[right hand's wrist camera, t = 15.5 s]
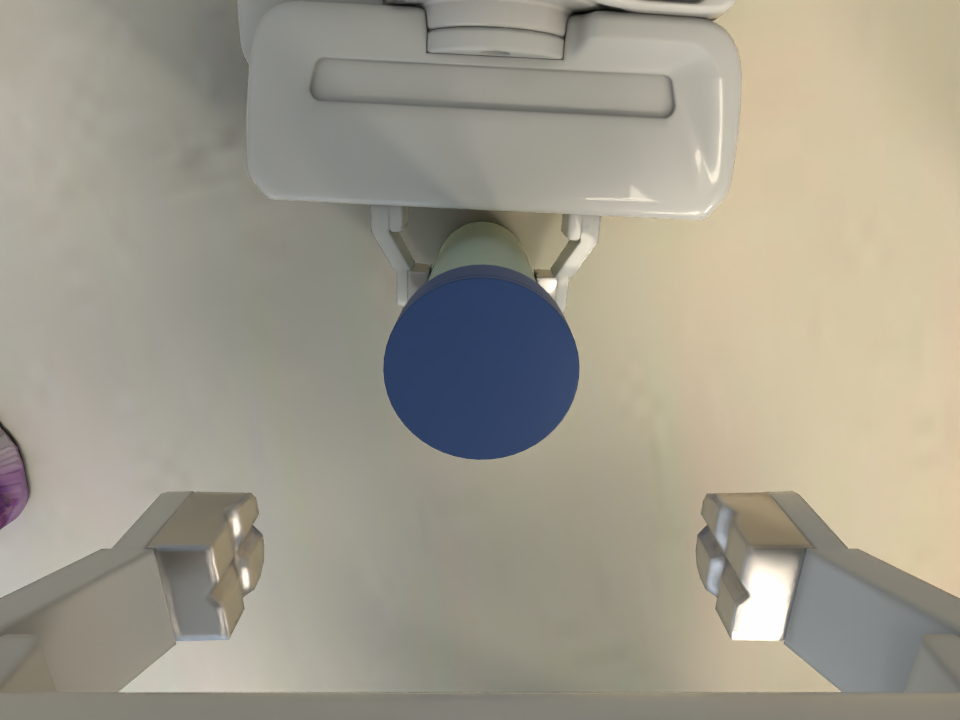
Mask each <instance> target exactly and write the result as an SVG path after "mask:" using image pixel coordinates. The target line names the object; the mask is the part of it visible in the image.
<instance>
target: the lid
mask: <svg viewBox="0 0 960 720" xmlns="http://www.w3.org/2000/svg"><path fill="white" fill-rule="evenodd" d="M383 371H384V381H385V386H386V390H387V394H388V397H389V399H390V402H391V404H392V406H393V408H394V410H395V412H396V414H397V415H398V417H399V418H400V419H401V421H402V422H403V423H404V425H405V426H406V427H407V428H408V429H409V430H410V431H411V432H412V433H413V434H414V435H415V436H417V437H418V438H419V439H420V440H422V441H423V442H425V443H426V444H428V445H429V446H431V447H433V448H435V449H437V450H439V451H441V452H444V453H447V454H450V455H453V456H457V457H461V458H466V459H477V460H481V459H496V458H502V457H506V456H510V455H514V454H516V453H519V452H522V451H524V450H526V449H528V448H530V447H532V446H534V445H535V444H537V443H538V442H540V441H541V440H543V439H544V438H545V437H546V436H548V435H549V434H550V433H551V432H552V431H553V430H554V429H555V428H556V427H557V426H558V424H559V423H560V422H561V421H562V420H563V418H564V416H565V415H566V413H567V412H568V410H569V408H570V406H571V404H572V402H573V400H574V396H575V393H576V390H577V386H578V380H579V358H578V351H577V347H576V343H575V340H574V338H573V335H572V333H571V331H570V328H569V326H568V324H567V322H566V320H565V318H564V315H563V313H562V311H561V310H560V308H559V306H558V305H557V303H556V302H555V300H554V299H553V298H552V297H551V295H550V294H549V293H548V292H547V291H546V290H545V289H544V288H543V287H542V286H541V285H539V284H538V283H537V282H535V281H534V280H532V279H531V278H529V277H527V276H525V275H524V274H522V273H520V272H517V271H514V270H512V269H509V268H505V267H501V266H496V265H486V264H481V265H468V266H462V267H458V268H455V269H451V270H448V271H446V272H444V273H441V274H439V275H437V276H436V277H434V278H432V279H431V280H429V281H428V282H426V283H425V284H424V285H423V286H421V287H420V288H419V289H418V290H417V291H416V292H415V293H414V294H413V295H412V297H411V298H410V299H409V300H408V302H407V303H406V305H405V306H404V308H403V310H402V312H401V314H400V316H399V318H398V320H397V322H396V324H395V326H394V328H393V330H392V332H391V334H390V337H389V340H388V343H387V346H386V351H385V356H384V370H383Z"/></svg>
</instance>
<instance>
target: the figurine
mask: <svg viewBox="0 0 960 720" xmlns="http://www.w3.org/2000/svg"><path fill="white" fill-rule="evenodd" d="M28 496H29V490H28V487H27V481H26V476H25V471H24V466H23V462H22V459H21V457H20V454H19V452H18V447H17V446H16V445H15V444H14V443H13V442H12V440H11V439H10V438H9V436H8V435H7V434H6V433H5V432H4V431H3V430H2V429H1V428H0V529H2V528H3V527H4V526H6V525H7V524H9V523H10V522H12V521H13V520H14V519H16V518H17V517H18V516H19V515H20V513H21V512H22V510H23V509H24V507H25V505H26V503H27V500H28Z"/></svg>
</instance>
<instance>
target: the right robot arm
mask: <svg viewBox="0 0 960 720" xmlns="http://www.w3.org/2000/svg"><path fill="white" fill-rule="evenodd" d="M258 515H259V511H258V506H257V501H256V497H255V496H254V495H253V494H252V493H235V492H193V491H188V492H166V493H162V494H161V495H160V496H159V497H158V498H157V499H156V500H155V501H154V502H153V504H152V505H151V506H150V507H149V508H148V509H147V510H146V511H145V512H144V513H143V515H142V516H141V517H140V518H139V519H138V520H137V521H136V522H135V523H134V524H133V526H132V527H131V528H130V529H129V530H128V531H127V532H126V533H125V534H124V535H123V537H122V538H121V539H120V540H119V541H118V542H117V543H116V544H115V545H114V546H113V548H112V549H101V550H99V551H97V552H95V553H92V554H90V555H88V556H86V557H84V558H82V559H80V560H78V561H76V562H74V563H72V564H70V565H68V566H66V567H64V568H62V569H60V570H57V571H55V572H53V573H51V574H49V575H47V576H45V577H43V578H41V579H39V580H37V581H35V582H33V583H31V584H29V585H27V586H25V587H23V588H20V589H18V590H16V591H14V592H12V593H10V594H8V595H6V596H4V597H2V598H0V720H960V598H958V597H956V596H954V595H952V594H950V593H947V592H945V591H943V590H941V589H939V588H937V587H935V586H933V585H931V584H929V583H927V582H925V581H923V580H921V579H919V578H917V577H915V576H913V575H911V574H909V573H906V572H904V571H902V570H900V569H898V568H896V567H894V566H892V565H890V564H888V563H886V562H884V561H882V560H880V559H878V558H876V557H874V556H872V555H870V554H868V553H865V552H863V551H861V550H859V549H848V548H847V546H846V545H845V544H844V543H843V542H842V541H841V540H840V539H839V538H838V537H837V535H836V534H835V533H834V532H833V531H832V530H831V529H830V528H829V527H828V526H827V524H826V523H825V522H824V521H823V520H822V519H821V518H820V517H819V516H818V515H817V513H816V512H815V511H814V510H813V509H812V508H811V507H810V506H809V505H808V504H807V502H806V501H805V500H804V499H803V498H802V497H801V496H800V495H799V494H797V493H795V492H793V491H782V492H763V493H717V494H706V496H705V498H704V501H703V505H702V510H701V515H702V516H703V518H704V520H705V522H706V523H707V526H706V527H705V528H704V529H703V530H702V531H701V532H700V533H699V534H698V535H697V544H696V561H697V568H698V572H699V575H700V578H701V580H702V583H703V585H704V587H705V589H706V590H708V591H709V592H711V593H712V594H713V595H715V596H716V597H717V603H716V611H717V613H718V615H719V617H720V619H721V621H722V622H723V624H724V626H725V628H726V630H727V632H728V634H729V636H730V638H731V640H757V641H784V644H785V645H786V646H787V647H788V648H790V649H791V650H792V651H793V652H794V653H796V654H797V655H798V656H799V657H800V658H802V659H803V660H804V661H805V662H806V663H808V664H809V665H810V666H811V667H813V668H814V669H815V670H816V671H817V672H819V673H820V674H821V675H822V676H823V677H825V678H826V679H827V680H828V681H829V682H831V683H832V684H833V685H834V686H835V687H837V688H838V689H839V690H840V691H841V692H792V693H417V692H279V693H120V692H119V691H120V690H121V689H122V688H124V687H125V686H126V685H127V684H128V683H130V682H131V681H132V680H133V679H134V678H136V677H137V676H138V675H139V674H140V673H142V672H143V671H144V670H145V669H146V668H148V667H149V666H150V665H151V664H153V663H154V662H155V661H156V660H157V659H159V658H160V657H161V656H162V655H163V654H165V653H166V652H167V651H168V650H169V649H171V648H172V647H173V646H174V645H175V644H176V641H202V640H229V638H230V636H231V634H232V632H233V630H234V628H235V626H236V624H237V623H238V621H239V619H240V617H241V615H242V613H243V611H244V603H243V597H244V596H245V595H247V594H248V593H249V592H251V591H252V590H254V589H255V587H256V585H257V582H258V580H259V578H260V576H261V571H262V567H263V562H264V542H263V535H262V534H261V533H260V532H259V531H258V530H257V529H256V528H255V527H254V526H253V523H254V522H255V520H256V518H257V516H258Z"/></svg>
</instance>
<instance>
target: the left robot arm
mask: <svg viewBox="0 0 960 720" xmlns="http://www.w3.org/2000/svg"><path fill="white" fill-rule="evenodd" d="M735 2H736V0H238V4H237V9H238V21H239V33H240V43H241V48H242V52H243V55H244V58H245V60H246V62H247V64H248V65H249V74H248V88H247V107H246V150H247V167H248V172H249V175H250V177H251V179H252V180H253V181H254V182H255V184H256V185H257V186H258V187H259V189H260V190H261V191H262V192H263V193H264V194H265V196H266V197H268V198H269V199H273V200H289V201H309V202H330V203H350V204H371V232H372V233H373V235H374V237H375V239H376V240H377V242H378V244H379V245H380V247H381V249H382V250H383V252H384V254H385V256H386V257H387V259H388V261H389V262H390V264H391V266H392V267H393V269H394V270H397V305H398V306H403V307H404V306H405V305H406V303H407V302H408V300H409V299H410V298H411V297H412V295H413V294H414V293H415V292H416V291H417V290H418V289H419V288H420V287H421V286H423V285H424V284H425V283H426V282H428V280H429V277H430V275H431V272H432V264H418V263H415V261H414V259H413V258H412V256H411V254H410V252H409V250H408V248H407V246H406V244H405V243H404V241H403V239H402V237H401V235H400V233H399V232H401V231H402V229H403V228H404V227H405V226H406V225H407V224H408V206H411V207H432V208H452V209H473V210H493V211H514V212H534V213H555V214H563V215H562V228H561V231H562V232H563V234H564V235H565V236H566V237H567V238H568V239H569V242H568V243H567V245H566V246H565V248H564V249H563V251H562V252H561V254H560V255H559V257H558V258H557V260H556V261H555V263H554V264H553V266H552V267H551V270H541V269H534V273H533V275H534V278H535V280H536V282H537V283H538V284H539V285H541V286H542V287H543V288H544V289H545V290H546V291H547V292H548V293H549V294H550V295H551V297H552V298H553V299H554V300H555V302H556V303H557V305H558V306H559V308H560V310H561V311H562V313H563V314H564V313H565V309H566V301H567V292H568V282H569V278H572V277H573V276H574V274H575V273H576V272H577V270H578V269H579V267H580V266H581V265H582V263H583V262H584V261H585V259H586V258H587V257H588V255H589V254H590V252H591V251H592V250H593V248H594V247H595V246H596V244H597V243H598V237H599V229H600V220H601V216H616V217H637V218H657V219H678V220H699V221H700V220H704V219H706V218H707V217H708V216H710V215H711V214H712V213H713V212H714V211H715V209H716V208H717V207H718V206H719V205H720V204H721V203H722V202H723V201H724V200H725V198H726V197H727V194H728V192H729V188H730V184H731V179H732V174H733V168H734V162H735V155H736V148H737V140H738V131H739V120H740V107H741V88H742V71H741V62H740V56H739V53H738V49H737V47H736V44H735V42H734V40H733V39H732V37H731V36H730V34H729V33H728V32H727V31H726V30H725V29H724V28H723V27H721V26H720V25H718V24H717V23H714V22H713V21H714V20H716V19H717V18H719V17H720V16H722V15H723V14H724V13H725V12H727V11H728V10H729V9H730V8H731V7H732V6H733V5H734V3H735ZM386 4H387V5H386Z"/></svg>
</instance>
